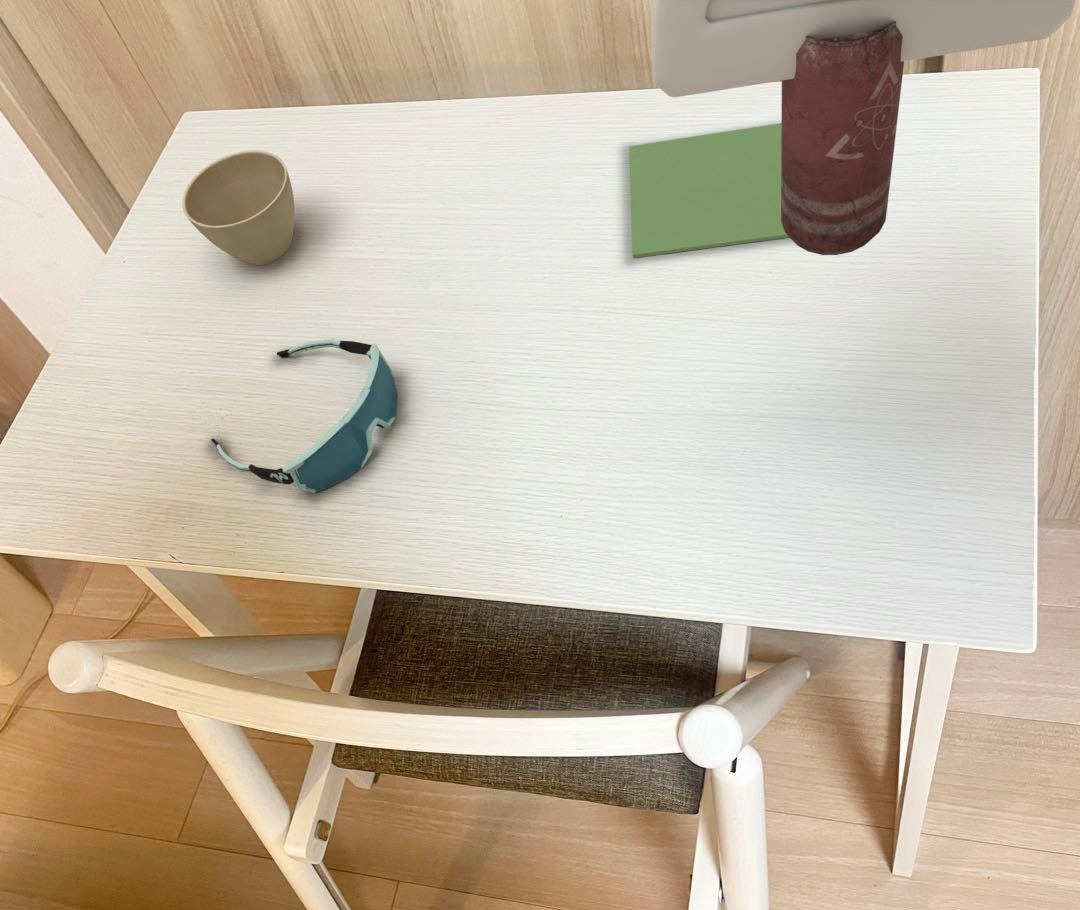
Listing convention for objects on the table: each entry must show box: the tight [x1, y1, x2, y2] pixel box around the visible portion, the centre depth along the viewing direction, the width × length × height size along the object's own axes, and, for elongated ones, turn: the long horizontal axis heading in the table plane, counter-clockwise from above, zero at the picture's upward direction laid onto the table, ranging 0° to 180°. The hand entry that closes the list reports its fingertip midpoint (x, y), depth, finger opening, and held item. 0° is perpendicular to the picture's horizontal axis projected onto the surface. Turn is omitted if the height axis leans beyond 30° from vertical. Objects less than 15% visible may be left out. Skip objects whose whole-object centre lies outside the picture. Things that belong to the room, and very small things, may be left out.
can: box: [781, 21, 905, 256], centre depth 57 cm, size 6×6×14 cm
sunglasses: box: [210, 338, 398, 494], centre depth 84 cm, size 14×15×5 cm
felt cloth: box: [629, 122, 790, 259], centre depth 90 cm, size 18×14×1 cm
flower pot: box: [181, 149, 296, 266], centre depth 96 cm, size 10×10×7 cm
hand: (844, 127), depth 57 cm, fingers closed, pressing on can
